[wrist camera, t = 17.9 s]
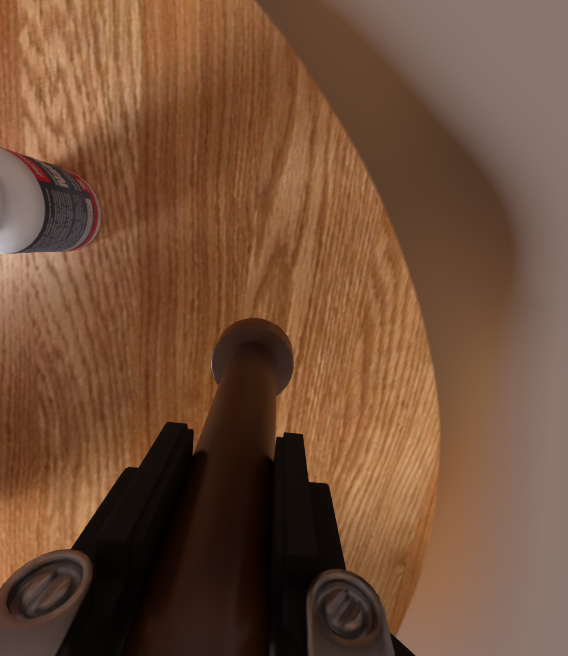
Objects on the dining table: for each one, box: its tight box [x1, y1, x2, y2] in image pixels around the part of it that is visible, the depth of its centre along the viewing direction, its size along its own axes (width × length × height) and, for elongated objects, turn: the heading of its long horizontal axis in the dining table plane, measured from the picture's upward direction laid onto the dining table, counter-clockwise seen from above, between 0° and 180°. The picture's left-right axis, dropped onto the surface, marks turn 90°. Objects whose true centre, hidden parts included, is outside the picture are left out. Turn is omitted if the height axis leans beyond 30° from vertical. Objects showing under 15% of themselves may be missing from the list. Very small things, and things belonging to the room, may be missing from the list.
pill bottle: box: [0, 147, 101, 254], centre depth 18 cm, size 5×5×9 cm
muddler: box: [120, 318, 294, 656], centre depth 11 cm, size 4×4×14 cm
